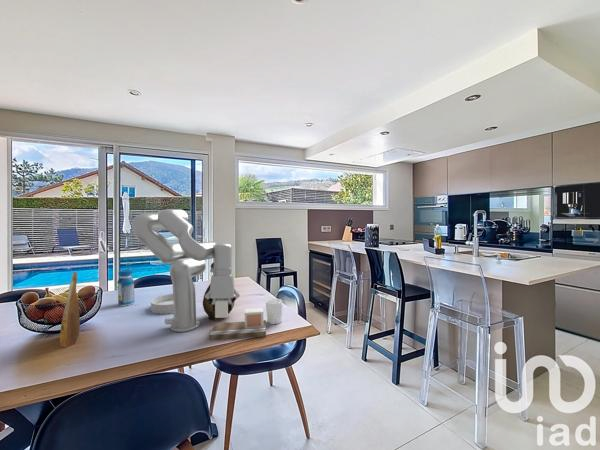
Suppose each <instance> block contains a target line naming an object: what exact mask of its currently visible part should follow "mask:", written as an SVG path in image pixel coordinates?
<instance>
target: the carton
mask: <svg viewBox="0 0 600 450" xmlns="http://www.w3.org/2000/svg"><path fill="white" fill-rule="evenodd" d="M264 320H265V319H264V307H261V308H259V307H258V308H245V309H244V322H245V329H248V328H264Z"/></svg>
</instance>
